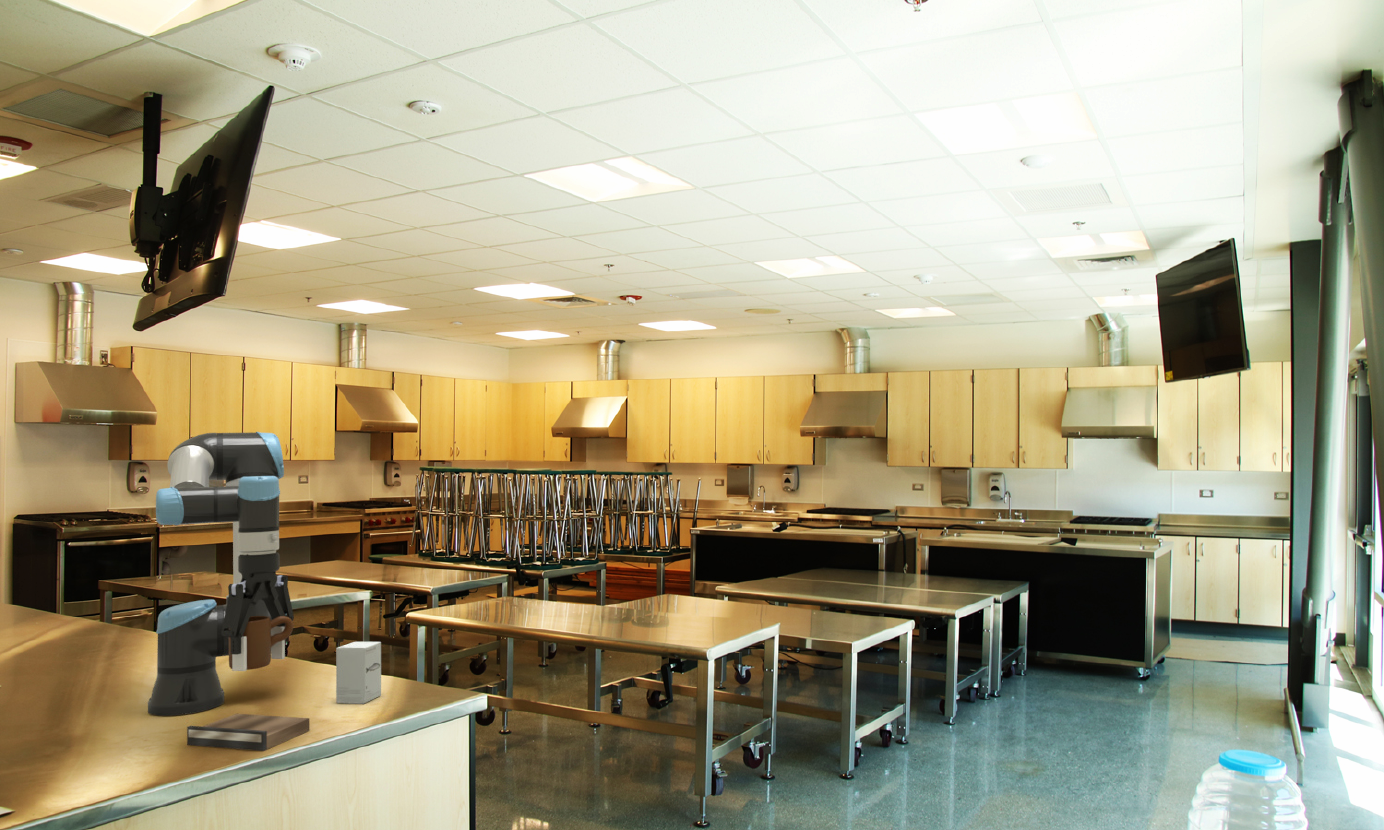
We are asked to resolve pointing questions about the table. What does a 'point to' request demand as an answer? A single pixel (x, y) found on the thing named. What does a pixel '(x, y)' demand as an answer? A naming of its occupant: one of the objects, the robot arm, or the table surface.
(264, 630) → the mug
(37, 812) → the table surface
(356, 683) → the supplement box
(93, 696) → the table surface
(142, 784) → the table surface
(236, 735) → the wooden slab
